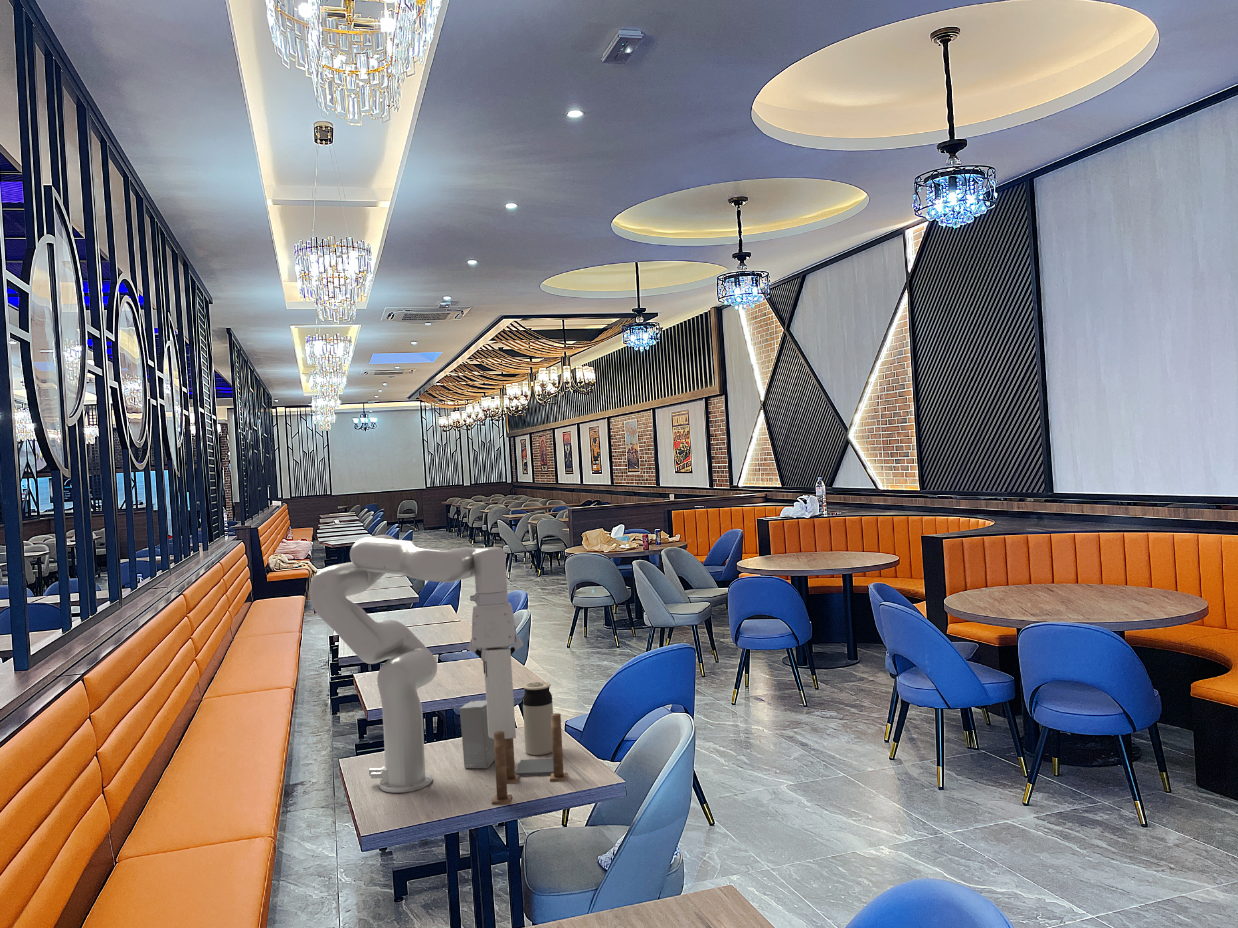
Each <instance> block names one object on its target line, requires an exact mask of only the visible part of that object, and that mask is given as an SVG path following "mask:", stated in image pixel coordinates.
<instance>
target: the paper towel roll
mask: <svg viewBox="0 0 1238 928" xmlns="http://www.w3.org/2000/svg"><path fill="white" fill-rule="evenodd" d="M485 661H486V663H487V677H486V663H485V674H484V686H485V687H484V688H485V701H486V705H487V721H488V736H489V738H492V739H494V733H495V732H499V731H502V732H504V736H505V739H508V738H513V739H517V733H516V732H517V731H516V718H515V717H516V716H515V715H516V714H515V701H514V686H513V684H514V683H513V669H512V655H511V651H510V648H509V649H508V648H507V649H502V648H488V649H487V650H485ZM485 661H484V662H485Z"/></svg>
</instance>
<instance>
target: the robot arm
mask: <svg viewBox="0 0 1238 928" xmlns="http://www.w3.org/2000/svg"><path fill="white" fill-rule="evenodd" d="M349 558H350V561H351V562H350V561H348V562H345V563H338V564H333V565H330V566H327V567H324V568H322V569H320V570H318V571H317V572H316V573H315V574H314V576H313V577H312V578H311V581H310V583H309V590H308V592H309V593H308V594H309V599H310V600H309V601H310V604H311V605H312V608H313V610H314V611H315V613H316V615H318V616H319V618H320V619H321V620H322V621H323V622H325V623H326V625H328V626H329V627H330V628H331V629H332V630H333V631H334V632H335V633H336V634H337V636H339V638H340V639H341V640H342V641H343V642H344V643H345V644H346V645H347V647H348V648H349V649H350V650H351V651H352V652H353V653H354V654H355V656H357V657H358V658H359V659H360V660H361V661H362V662H364V664H365V663H366V664H368V665H375V664H378V663H380V662H383V661H385V660H386V661H385V662H384V663H383V664H382V665H381V667H380V669H379V670H378V673H377V676H376V677H377V678H376V680H377V681H376V683H377V688H378V692H379V696H380V701H381V711H382V724H383V741H384V742H383V744H384V745H383V746H384V747H383V748H384V766H382V767H379V768H378V767H370V768H369V770H368V775H369V777H370V779H372V780H373V779H380V781H379V789H380V790H381V791H383V792H386V793H391V794H392V793H393V794H394V793H395V794H396V793H397V794H400V793H402V794H403V793H408V792H413V791H417V790H421V789H423V788H425V787H427V786H428V785H430V784H431V783H432V780H433V776H432V774H431V773H430V772H428V771H426V759H425V740H424V739H425V737H424V720H423V719H424V718H423V708H422V703H421V699H420V697H419V695H418V692H417V691H418V689H419V688H421V687H424V686H425V685H427V684H430V682H432V681H433V680H434V679H435V677H436V675H437V671H438V663H437V660H436V658H435V656H434V654H433V653H432V651H430V649H428V648H427V646H426V645H424V643H423V642H422V641H421V640H420V639H419V638H418V637H417V636H416V635H415V633H413V632H412V631H411V630H410V629H409V628H408V626H406V625H405V624H403V622H399V621H397V620H393V619H387V620H382V621H379V622H377V621H376V620H374V619H373V618H372V617H371V616H370V615H368V613H367V612H366V611H365V609H363V608H362V607H361V606H360V605H358V604H356V603H354V602H353V601H351V600H349V599H348V598H347V597H349V596H353V595H357V594H361V593H363V592H366V590H368V589H369V588H371V587H372V586H374V584H376V582H377V581H379V580H380V579H382V577H383V576H385V575H386V574H392V575H400V576H407V577H408V578H413V579H416V580H419V581H424V582H425V581H426V582H436V583H453V582H457V581H460V580H464V579H465V580H466V579H469V578H474V584H475V594H473V595H470V596H469V599H470V602H473V603H474V602H475V604H476V605H474V606H473V607H472V614H471V639H470V641H469V643H468V645H467V647H466V649H467V650H468V651H469V652H471V653H473V654H475V655H476V656H477V657H479V658H480V659H481V661H482V664H483V665H482V667H483V674H484V675H485V663H486V661H485V650H487V649H488V648H502V649H507V648H508V649H510V651H511V656H512V655H513V653H514V652H516V651H517V650H519V649H520V648H522V647H523V646H524V643H523V641H522V639H521V638H520V636H519V635H518V633H517V628H516V622H515V615H514V614H515V613H514V611H513V606H512V604H511V602H509V595H508V593H509V592H508V577H507V563H506V562H507V561H506V560H507V559H506V552H505V550H504V549H503V548H502V547H500V546H499V547H498V546H494V547H493V546H490V547H487V546H486V547H482V548H479V547H473V546H472V547H470V546H464V547H459V548H452V549H449V550H437V549H427V548H420V547H419V545H418V544H417V543H416V542H415V541H412V540H405V539H404V540H403V539H396V538H395V537H394V536H391V535H389V534H379V535H371V536H366V537H363V538H360V539H358V540H357V541H355V542H354V543H353V545H352V546H351V548H350V551H349ZM484 661H485V662H484ZM486 677H487V663H486Z"/></svg>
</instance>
